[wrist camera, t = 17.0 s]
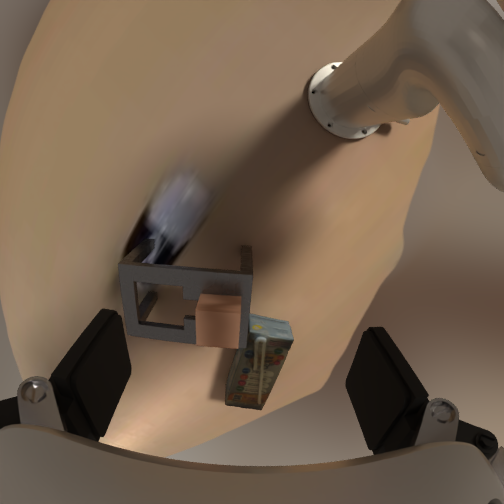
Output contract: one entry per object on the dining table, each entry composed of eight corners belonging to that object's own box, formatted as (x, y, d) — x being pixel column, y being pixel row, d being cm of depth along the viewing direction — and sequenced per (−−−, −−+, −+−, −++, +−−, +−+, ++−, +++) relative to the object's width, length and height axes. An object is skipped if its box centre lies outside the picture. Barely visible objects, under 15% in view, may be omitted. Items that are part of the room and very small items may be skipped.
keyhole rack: (251, 246, 44) (253, 275, 33) (246, 307, 47) (246, 348, 37) (145, 238, 43) (118, 263, 32) (149, 299, 46) (127, 334, 36)
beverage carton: (291, 320, 48) (297, 342, 42) (261, 390, 54) (262, 413, 48) (248, 310, 48) (248, 333, 41) (224, 384, 54) (222, 407, 47)
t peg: (241, 275, 40) (240, 313, 30) (239, 306, 42) (238, 348, 32) (206, 273, 40) (195, 310, 30) (206, 303, 41) (196, 345, 32)
